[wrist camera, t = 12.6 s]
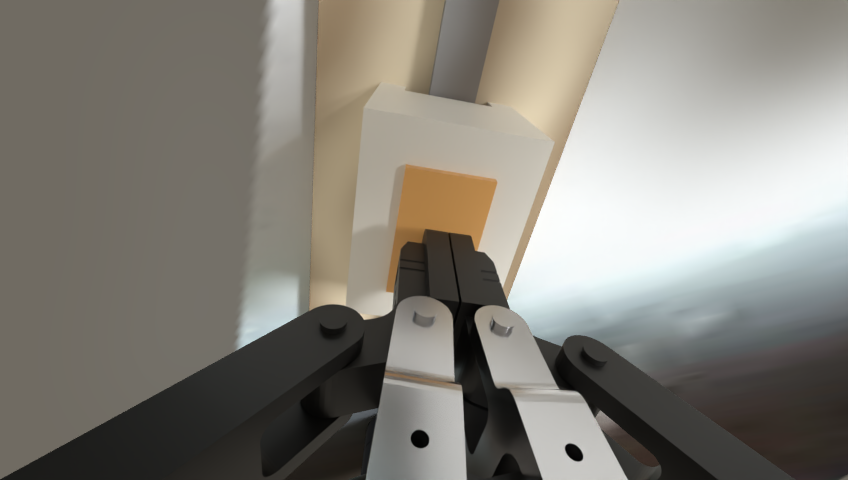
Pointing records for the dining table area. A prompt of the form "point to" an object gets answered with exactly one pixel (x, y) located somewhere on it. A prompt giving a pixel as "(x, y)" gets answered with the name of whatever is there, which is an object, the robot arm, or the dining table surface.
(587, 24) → the rail board
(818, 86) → the dining table surface
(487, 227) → the block
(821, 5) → the dining table surface
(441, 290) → the robot arm
